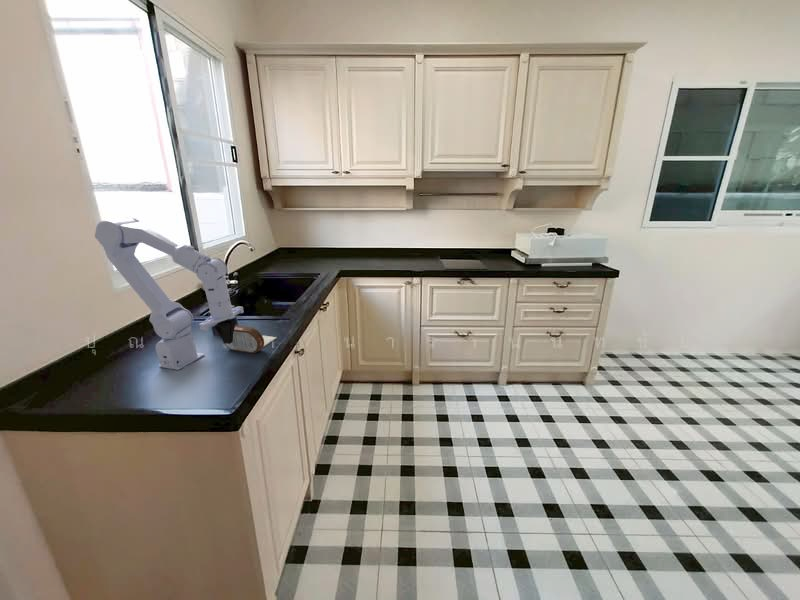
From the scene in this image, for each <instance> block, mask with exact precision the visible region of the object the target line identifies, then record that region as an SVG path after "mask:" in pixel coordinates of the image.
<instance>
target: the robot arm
mask: <svg viewBox="0 0 800 600" xmlns="http://www.w3.org/2000/svg"><path fill="white" fill-rule="evenodd" d="M94 238H95V239H96V240H97V241H98V242H99V244H100V245H101V246H102V248H103V250H104V252H105V255H106V257H107V259H108V261H110V263H111V264H112V265H113V266H114V268H115V269H116V270H117V272H119V274H120V275H121V276H122V277H123V278H124V280H125V281H126V282H127V284H129V286H130V287H131V288H132V290H133V291H134V292H135V293H136V295H138V297H139V298H140V299H141V300H142V301H143V303H145V305H146V306H147V307H148V309H149V310H150V311H151V312H150V317H149V323H151V325H152V326H153V331H154V332H155V334H156V335H157V336H159V337H160V338H161V339H160V341H158V342H157V343H156V344H155V346H154V348H155V352H156V355H157V359H158V361H159V365H158V367H159V368H165V369H171V370H174V371H175V370H177V371H178V370H181V369H183V368H184V367H186V366H188V365H190V364H192V363H193V362H195V361H197V360H199V359H201V358H203V357H204V356H205V353H202V352H198V351H197V349H196V344H195V341H194V336H193V332H192V324H193V323H194V316H193V314H192V313H191V311H190V310H189V309H186V308H185V307H184V306H183V305H182V304H181V303H180V302H176V301H173V300H171V299H170V298H169V297H168V295H167V294H166V293H165V292H164V290H163V289H162V288H161V287H160V285H159V284H158V283H157V282H156V280H155V279H154V278H153V277H152V276H151V274H150V273H149V271H147V269H146V268H145V267H144V266H143V264H142V263H141V262H140V260H139V259H138V258H137V257H136V255H135V253H136V249H137V247H138V246H139V244H140V243H142V244H145V245H146V246H149V247H151V248H153V249H156V250H158V251H160V252H162V253H165V254H166V255H168V256H171V257H172V261H173V262H174V264H177V265H179V266H181V267H182V268H184V269H186V270H189V271H190V272H192V273H194V274H196V277H197V278H198V280H199V281H200V282H202V285H203V287H204V291H205V295H206V296H205V297H206V300H207V303H208V308H209V311H210V313H211V316H210V317H209V316H208V318H207V319H205V320H203V321H202V322H200V323H199V328H200V331H206V332H207V331H209V330H210V328H211V327H213V328H214V329H215V330H216V331H217V332H218V333H219V335H218V336H220V338H221V340H222V342H223V341H224V343H226V344H230V343H232V342H233V333H234V328H235V325H236V323H237V320H238V319H237V320H236V319H235V318H234V317H235V315H239V314H243V313H244V307H243V306H238V305H237V306H235V308H232V307H231V305H232V302H231V298H230V293H229V289H228V284H227V279H226V275H227V273H228V266H227V264H226V262H225V261H224V260H222V259H221V258H219V257H211V256H210V255H208V254H204V253H202V252H200V251H199V250H196V249H195V246H192V245H188V244H187V245H186V244H183V245H178V244H176V243H175V242H174V241H171V240H170V239H168V238H166V237H165V236H164V235H162V234H160V233H158V232H156V230H153V229H152V228H150V227H149V226H148V224H147V223H145V222H143V221H140V220H139V219H137V218H136V217H130V216H129V217H125V218H119V219H112V220H102V221H99V223H97V224H96V228H95V233H94ZM211 329H212V328H211ZM224 343H223V344H224Z"/></svg>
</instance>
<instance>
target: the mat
mask: <svg viewBox="0 0 800 600" xmlns="http://www.w3.org/2000/svg"><path fill="white" fill-rule="evenodd" d="M261 335H262V336H263V339H264V346H263V348H264V347H265V346H267V345H268V344H271V343H272V342H273V341H275V340H276V339H277V337H276V336H268V335H263V334H261Z"/></svg>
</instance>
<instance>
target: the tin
mask: <svg viewBox="0 0 800 600" xmlns="http://www.w3.org/2000/svg"><path fill="white" fill-rule="evenodd" d="M262 335H263V334H262V333H261V332H260V331H259V330H258V329H257V328H254V327H250V326H242V325H239V326H237V325H235V328H234V333H233V342H232V343H230V344H226V343H224V341H223V340H222V343H223V344H224V346H226V348H228V349H229V350H231V351H234V352H243V353H248V354H256V353H257V352H259V351H260V350H262V349H263V348H264V347H265V346H264V339H263V336H264V335H263V336H262ZM263 346H264V347H263Z"/></svg>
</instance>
